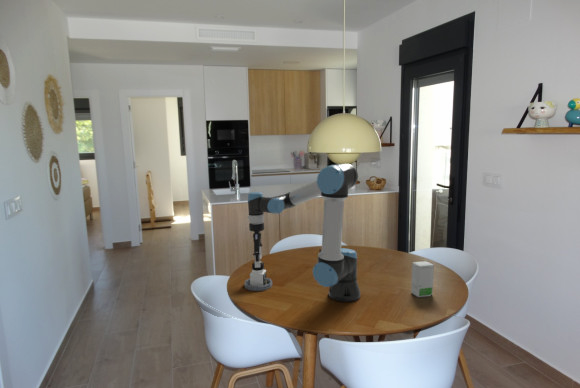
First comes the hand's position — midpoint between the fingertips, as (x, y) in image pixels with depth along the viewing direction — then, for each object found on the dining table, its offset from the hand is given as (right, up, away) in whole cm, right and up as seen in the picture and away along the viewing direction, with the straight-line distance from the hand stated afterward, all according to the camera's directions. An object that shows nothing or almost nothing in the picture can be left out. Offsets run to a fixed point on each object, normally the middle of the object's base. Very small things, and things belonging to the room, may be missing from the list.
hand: (258, 263), depth 207 cm
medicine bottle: (0, -12, +2) cm, 12 cm away
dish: (0, -12, +2) cm, 12 cm away
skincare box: (+80, -13, -12) cm, 82 cm away
